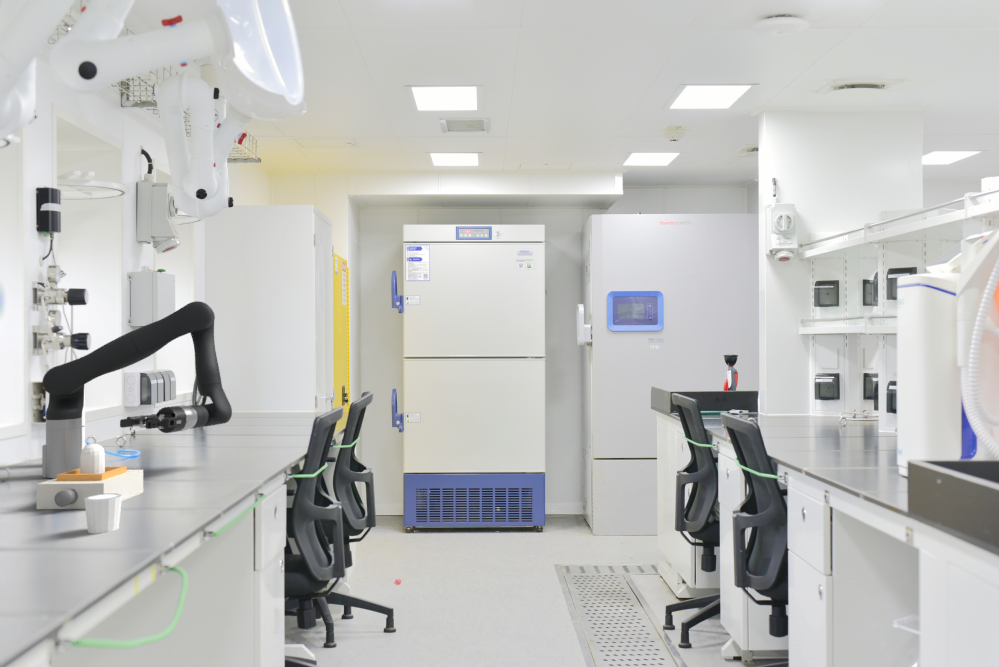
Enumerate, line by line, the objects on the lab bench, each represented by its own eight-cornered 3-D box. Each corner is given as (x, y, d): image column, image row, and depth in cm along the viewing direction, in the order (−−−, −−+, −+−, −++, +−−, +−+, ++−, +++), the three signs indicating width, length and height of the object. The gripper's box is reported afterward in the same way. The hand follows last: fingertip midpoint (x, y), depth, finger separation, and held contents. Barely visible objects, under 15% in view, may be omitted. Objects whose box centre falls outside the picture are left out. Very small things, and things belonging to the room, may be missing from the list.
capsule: (96, 472, 175) (96, 441, 176) (109, 474, 173) (109, 442, 173) (75, 476, 171) (75, 444, 171) (88, 478, 168) (88, 445, 168)
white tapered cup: (126, 529, 144) (126, 495, 144) (90, 536, 139) (90, 501, 139) (115, 523, 148) (115, 491, 149) (79, 530, 143) (79, 496, 144)
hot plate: (27, 512, 160) (27, 480, 160) (82, 493, 181) (82, 464, 181) (96, 511, 160) (96, 479, 160) (143, 492, 181) (143, 463, 181)
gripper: (157, 405, 204) (112, 409, 188) (197, 406, 200) (155, 411, 184) (156, 430, 204) (112, 436, 188) (196, 432, 200) (155, 439, 184)
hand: (133, 424), depth 186 cm, fingers open, 8 cm apart
